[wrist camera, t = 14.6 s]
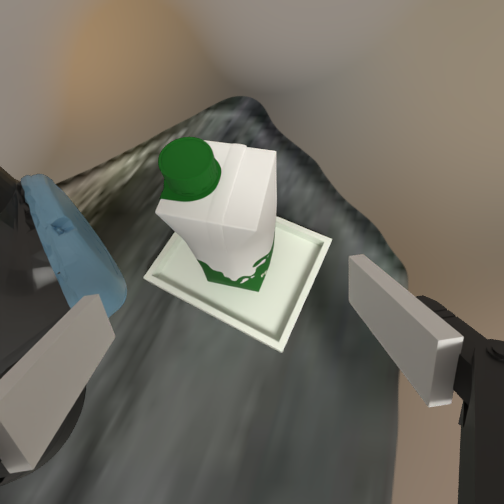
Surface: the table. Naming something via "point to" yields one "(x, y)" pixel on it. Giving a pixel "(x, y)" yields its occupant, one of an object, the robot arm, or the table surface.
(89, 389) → the table surface
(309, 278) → the tray
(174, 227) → the soya milk
